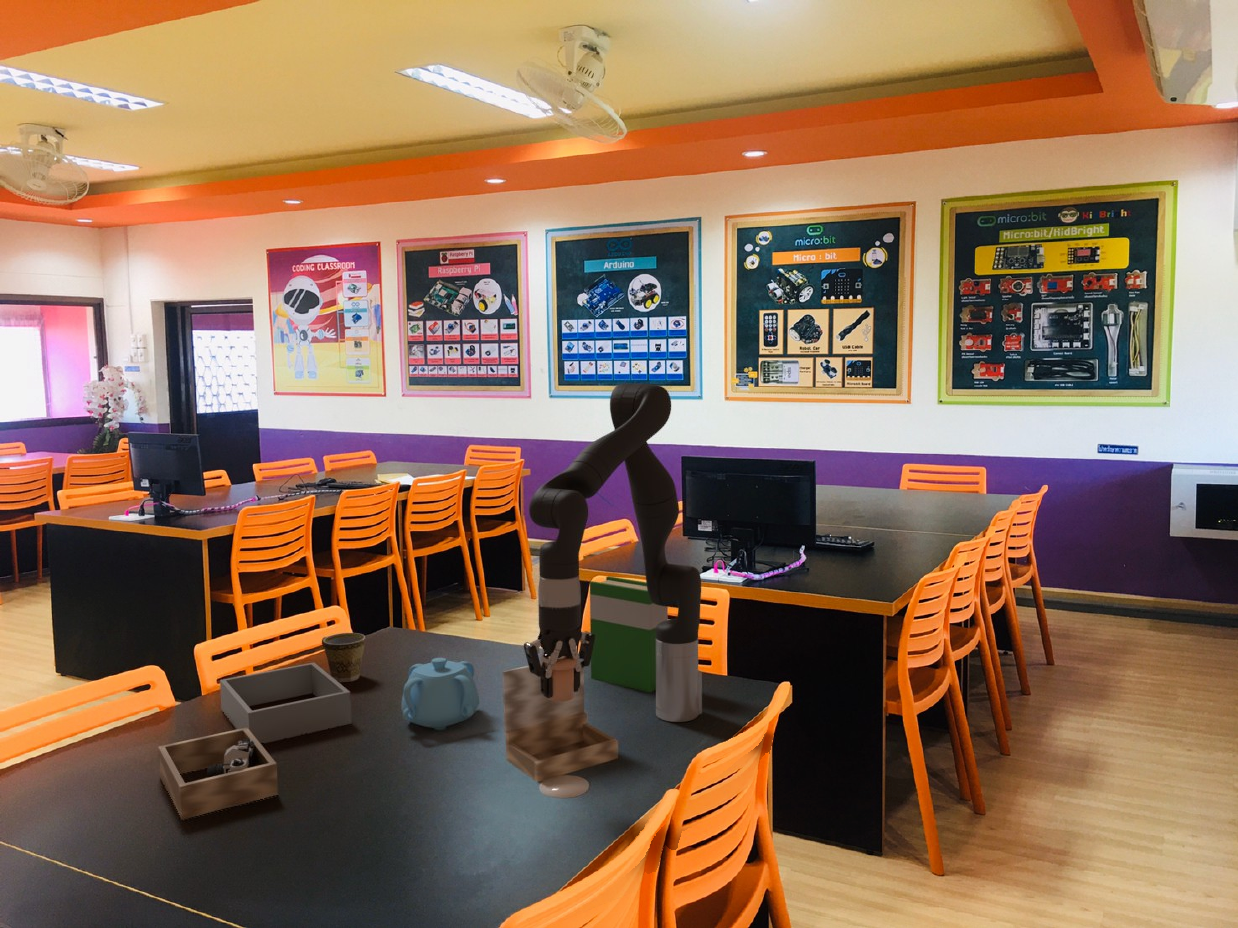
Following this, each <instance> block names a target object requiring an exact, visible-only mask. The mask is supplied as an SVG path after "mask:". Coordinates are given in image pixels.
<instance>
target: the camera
mask: <svg viewBox="0 0 1238 928" xmlns="http://www.w3.org/2000/svg"><path fill="white" fill-rule="evenodd" d="M251 767H255V758H254V741H252V740H250V739H242V740H241V741H239V742H238V746H235V745H234V746H232V747H230V748H229V749H227V751H226V753H225V755H224V763H221V764H219V765H218V764H212V766H209V767H208V768H207V770H206V778H209V777H213V776H218V775H222V774H226V773H230V772H234V771H238V770H243V769H247V768H251Z"/></svg>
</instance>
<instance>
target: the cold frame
mask: <svg viewBox="0 0 1238 928" xmlns="http://www.w3.org/2000/svg"><path fill="white" fill-rule="evenodd" d="M540 664H541V662H540ZM584 669H585V667H583V668H582V669H581V671H580V688H578V691H577V692H574V698H573V699H571V700H568V701H562V702H558V701H551V700H549V699H548V698H547V697H545V696H544V695H543V694H542V693H541V678H540V677H538V676H536V675H535V674H533V673H531V672H530V669H529V665H525V666H520V667H516V668H511V669H506V670H503V671H502V686H503V687H502V692H503V693H502V697H503V732H504V733H505V753H506V755H505V757H506V761H507V762H508V763H509V764H511V765H512V766H514V767H515V768H517V769H518V770H520V771H521V772H522V773H524V774H525V775H527V776H528V778H531V779H532V780H533V781H535V782H537V783H541V782H543V781H544V780H546V779H548V778H551V777H554V776H560V775H566V774H567V775H568V774H570V773H573V772H576V771H579V770H583V769H587V768H590V767H593V766H596V765H601V764H604V763H606V762H610V761H613V760H616V759H619V740H617V739H616V738H614V737H612V736H611V735H609V734H607V733H606V732H603V731H602V730H600V729H598V728H596V727H594V726H593V725H591V724H589V723H588V713H586V712H585V681H584V680H585V675H584V674H585V671H584Z"/></svg>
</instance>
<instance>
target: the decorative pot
mask: <svg viewBox="0 0 1238 928" xmlns="http://www.w3.org/2000/svg"><path fill="white" fill-rule="evenodd" d="M474 675H475V668H474V665H473V664H472V663H471V662H469V661H466V660H462V661H460V662H459V661H458V662H457V661H453V660H448V659H447V658H445V657H435V658H433V659H431V662H428V663H424V664H423V663H415V664H413V665H411V667H409V669H408V680H407V681H406V683H405V684H404V686H403V689H402V692H403V693H402V698H401V704H400V705H401V706H400V707H401V712H402V718H403V719H404V720H405V721H408V722H410V723H412V724H416V725H418V726H422V727H425V728H433V730H435V731H443V730H446V729H447V726H448V727H449V726H451V725H455V724H459V723H461V722H465V721H468V719H469V718H471V717H472V716H473V715H474V714H475V712H476V711H477V709H478V707H479V703H480V697H479V692H478V691H479V690H478V687H477V684H476V682H475V680H474V677H475V676H474Z"/></svg>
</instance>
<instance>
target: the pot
mask: <svg viewBox="0 0 1238 928" xmlns="http://www.w3.org/2000/svg"><path fill="white" fill-rule="evenodd" d="M549 659H550V656H549ZM546 666H547V663H545V668H546ZM576 666H577V660H576V659H572V658H569V657H565V656H563V657H561V658H558V659H557V662H556V663H554V665H552V666H551V670H553V671H552V675H551V677H552V693H553V696H552V697H551V698H548V699H549V700H551V701H558V702H562V701H568V700H571V699H573V698H574V668H575V667H576Z"/></svg>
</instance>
